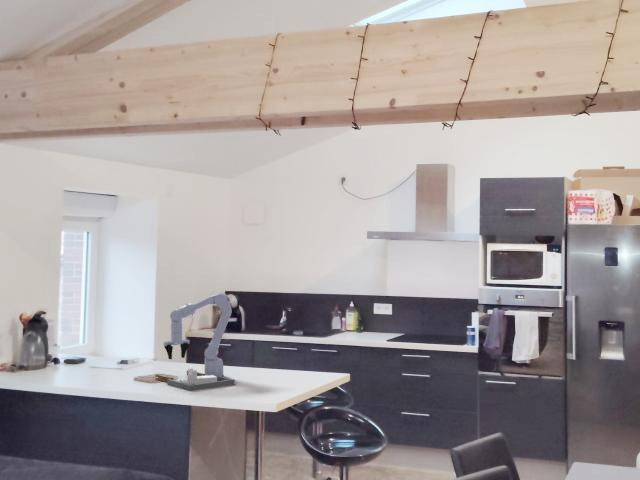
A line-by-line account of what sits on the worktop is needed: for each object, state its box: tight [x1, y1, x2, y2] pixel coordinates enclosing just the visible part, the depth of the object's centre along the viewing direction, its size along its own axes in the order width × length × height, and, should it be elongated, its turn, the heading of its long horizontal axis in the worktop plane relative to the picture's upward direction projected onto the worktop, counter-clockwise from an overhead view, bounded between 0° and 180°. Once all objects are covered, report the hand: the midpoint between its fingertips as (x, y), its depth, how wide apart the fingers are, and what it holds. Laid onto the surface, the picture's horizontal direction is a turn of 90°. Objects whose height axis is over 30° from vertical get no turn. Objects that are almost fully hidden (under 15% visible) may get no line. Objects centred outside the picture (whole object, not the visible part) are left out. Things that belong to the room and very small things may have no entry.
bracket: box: [187, 368, 217, 385], centre depth 382 cm, size 13×7×8 cm, turn 116°
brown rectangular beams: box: [154, 369, 205, 383], centre depth 394 cm, size 20×16×2 cm
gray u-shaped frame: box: [166, 374, 236, 392], centre depth 379 cm, size 25×22×2 cm
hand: (176, 358), depth 403 cm, fingers open, 7 cm apart
